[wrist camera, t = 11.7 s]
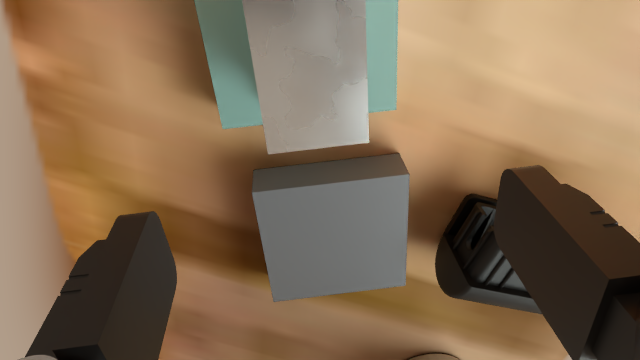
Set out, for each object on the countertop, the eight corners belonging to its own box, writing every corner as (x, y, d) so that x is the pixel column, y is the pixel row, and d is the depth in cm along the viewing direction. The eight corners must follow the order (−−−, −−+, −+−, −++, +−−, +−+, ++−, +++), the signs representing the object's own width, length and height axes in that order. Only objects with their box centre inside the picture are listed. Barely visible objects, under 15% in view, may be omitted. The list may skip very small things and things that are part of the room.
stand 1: (386, 91, 31) (396, 109, 28) (226, 109, 30) (222, 129, 28) (386, -95, 25) (399, -94, 22) (187, -76, 24) (177, -72, 22)
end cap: (424, 254, 39) (449, 314, 34) (462, 190, 36) (498, 245, 30) (517, 273, 42) (556, 332, 36) (562, 215, 38) (612, 271, 33)
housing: (246, -43, 23) (238, -23, 17) (343, -53, 23) (364, -36, 17) (268, 103, 27) (268, 154, 22) (349, 93, 27) (369, 142, 22)
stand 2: (396, 260, 39) (405, 285, 37) (273, 275, 39) (273, 301, 36) (399, 153, 33) (409, 174, 31) (253, 170, 33) (251, 192, 30)
